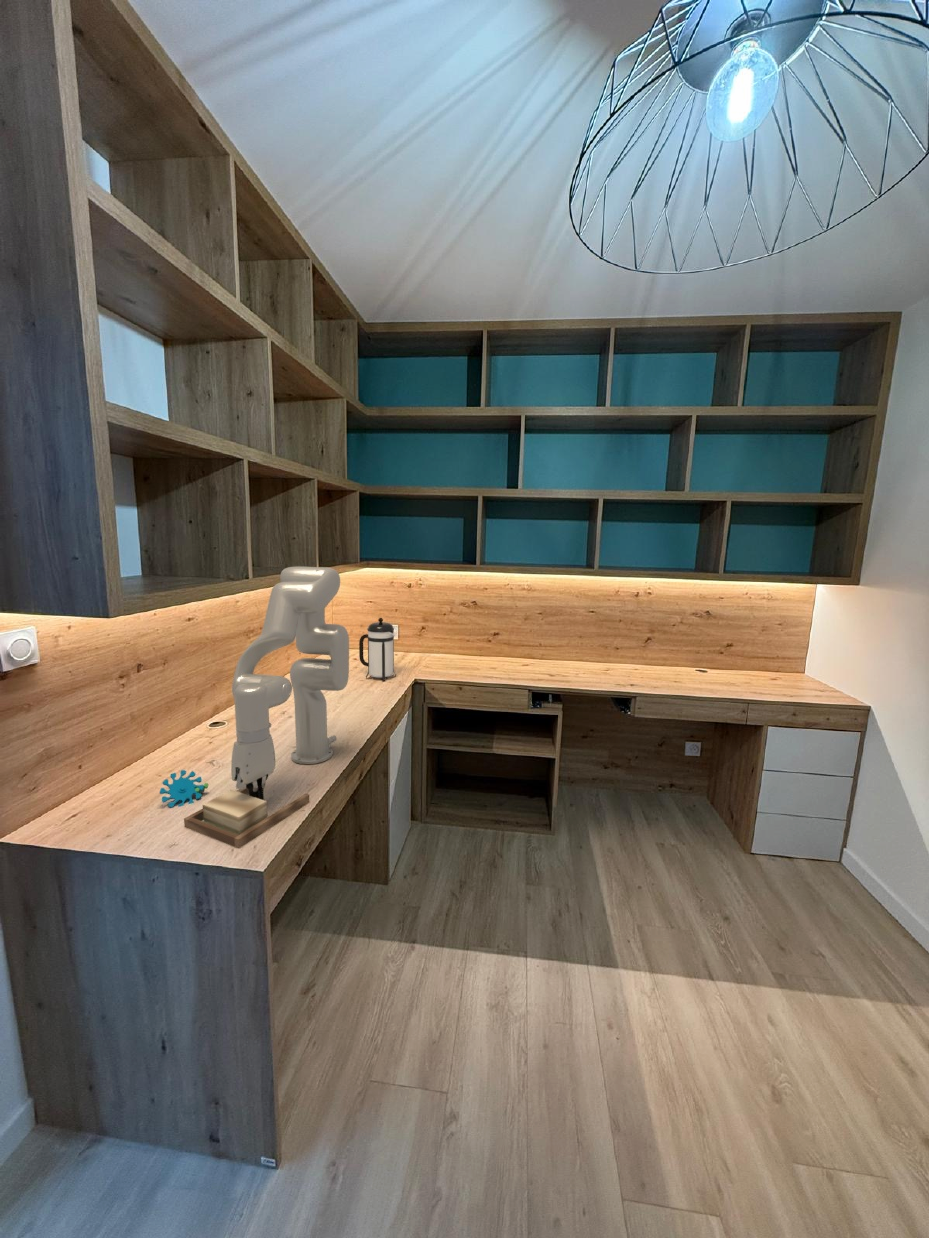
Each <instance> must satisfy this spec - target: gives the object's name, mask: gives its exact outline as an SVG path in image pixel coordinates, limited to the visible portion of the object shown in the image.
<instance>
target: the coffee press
mask: <svg viewBox="0 0 929 1238" xmlns="http://www.w3.org/2000/svg"><path fill="white" fill-rule="evenodd" d="M377 621H378V622H372V623H370V624H369V625H368V628H366V629H367V633H368V634H367V633H366V634H363V635H361V636H360V638H359V641H358V642H359V644H358V647H359V648H358V650H359V651H358V654H359V660H360V663H361V664H362V665H363V666H365V667H367V668H368V669H367V670H368V671H367V674H366V676H365V678H366V680H369V679H370V678H376V679H379V678H380V679H381V682H386V678H389V677H391V676H392V678H396V677H397V674H396V673H395V661H394V660H395V651H394V650H395V646H394V639H395V638H394V636H395V628H394V626H393V625H392V623H390V622H385V621H384V618H382V617H379V618H378V620H377ZM365 639H367V661H366V660H365V658H364V640H365ZM394 674H395V675H394ZM368 676H369V677H368Z"/></svg>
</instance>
